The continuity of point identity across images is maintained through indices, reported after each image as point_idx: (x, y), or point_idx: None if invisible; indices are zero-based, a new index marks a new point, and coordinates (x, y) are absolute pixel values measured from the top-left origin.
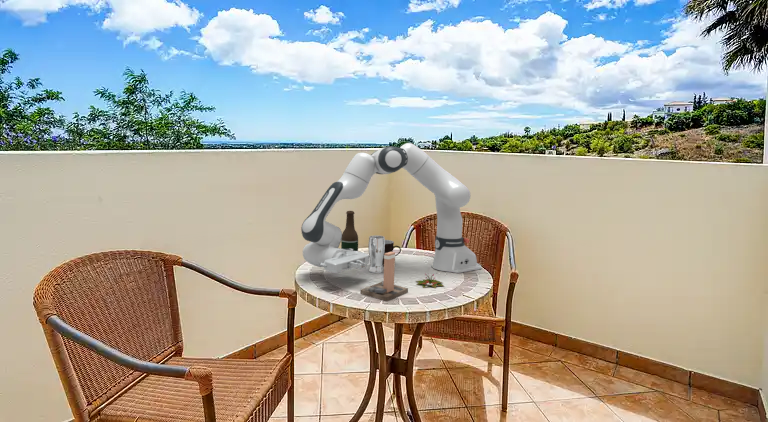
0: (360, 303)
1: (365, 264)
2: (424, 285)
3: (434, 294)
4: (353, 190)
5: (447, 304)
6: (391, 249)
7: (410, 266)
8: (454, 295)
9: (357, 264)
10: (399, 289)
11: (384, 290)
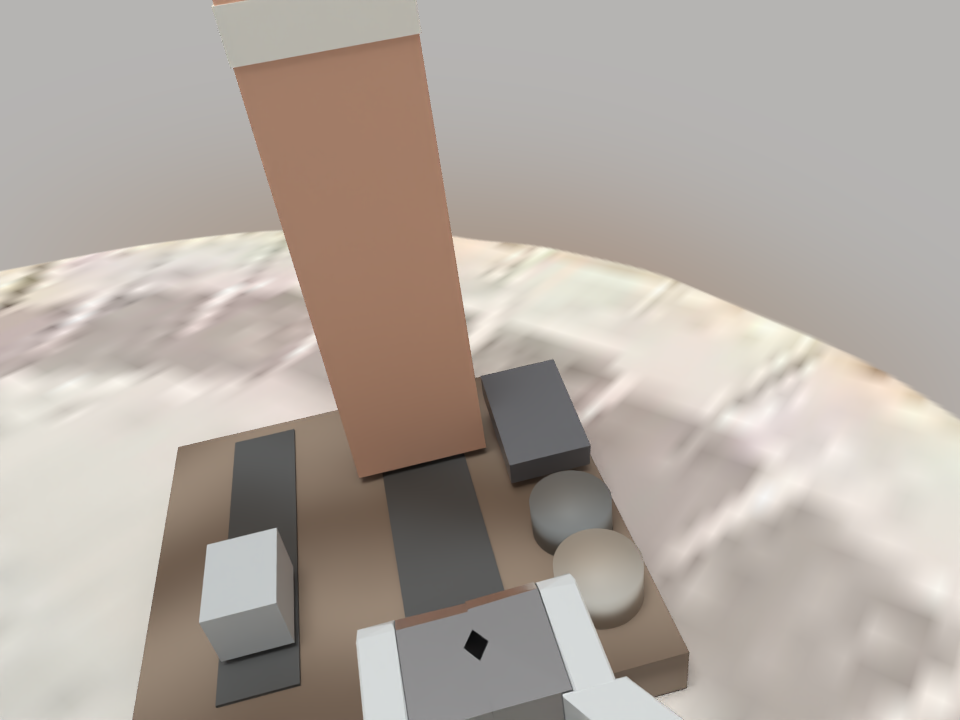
0: (824, 442)
1: (373, 634)
2: None
3: (104, 370)
4: None
5: (250, 252)
6: None
7: None
8: (45, 319)
9: (610, 681)
10: (278, 448)
11: (516, 373)
